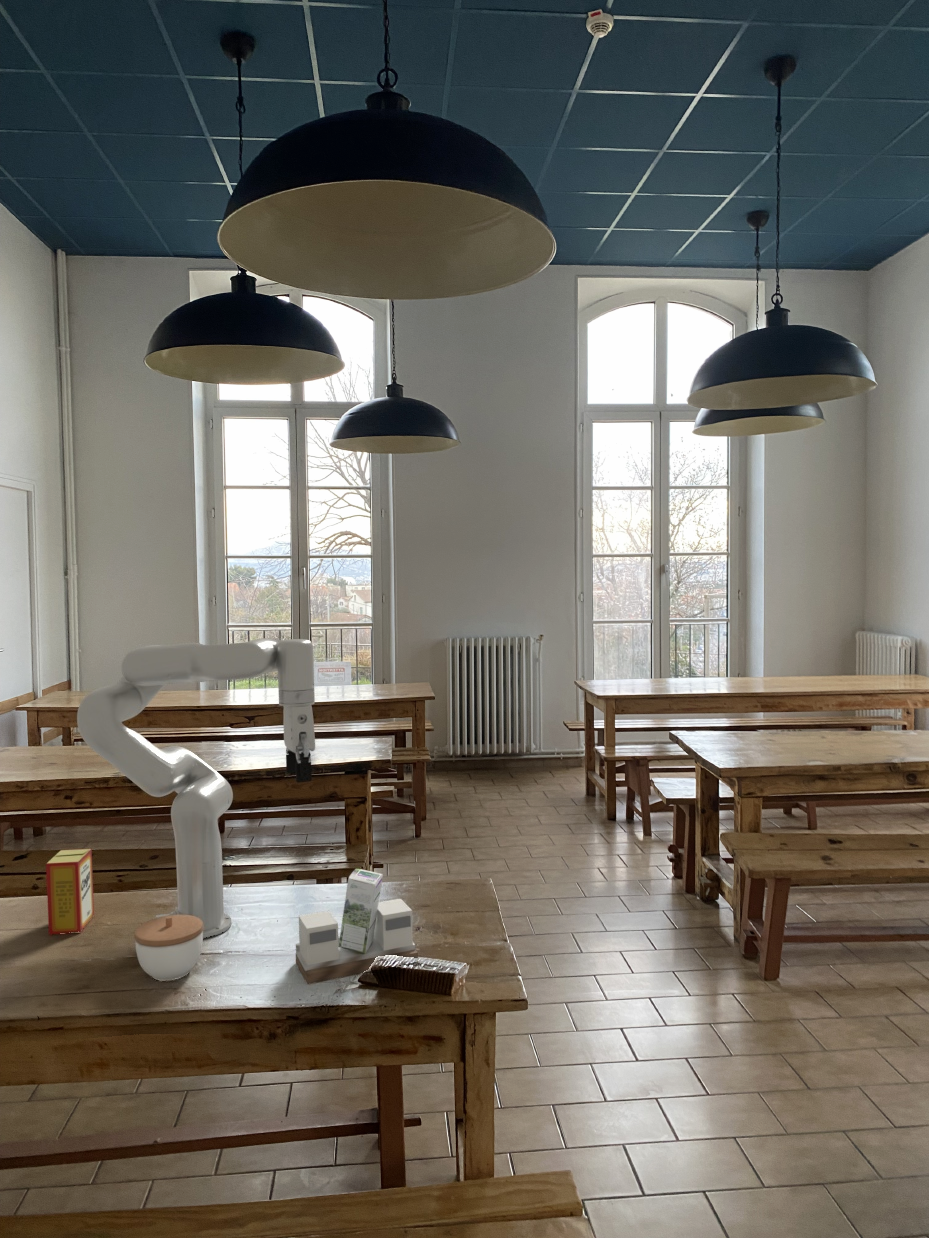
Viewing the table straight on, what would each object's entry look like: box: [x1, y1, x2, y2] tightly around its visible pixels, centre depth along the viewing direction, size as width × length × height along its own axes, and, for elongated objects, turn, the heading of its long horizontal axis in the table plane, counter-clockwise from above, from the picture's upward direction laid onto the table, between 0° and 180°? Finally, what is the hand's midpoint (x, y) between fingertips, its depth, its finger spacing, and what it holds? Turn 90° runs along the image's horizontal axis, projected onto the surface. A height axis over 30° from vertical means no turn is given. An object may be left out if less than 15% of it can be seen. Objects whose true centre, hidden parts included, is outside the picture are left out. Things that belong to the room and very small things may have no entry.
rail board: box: [295, 935, 419, 985], centre depth 174 cm, size 22×10×4 cm, turn 113°
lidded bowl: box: [133, 915, 204, 980], centre depth 171 cm, size 13×13×11 cm
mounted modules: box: [298, 898, 414, 965], centre depth 173 cm, size 21×7×7 cm, turn 113°
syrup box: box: [339, 868, 384, 953], centre depth 173 cm, size 6×6×14 cm
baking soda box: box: [45, 848, 95, 936], centre depth 195 cm, size 10×6×16 cm
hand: (298, 776), depth 189 cm, fingers open, 9 cm apart
